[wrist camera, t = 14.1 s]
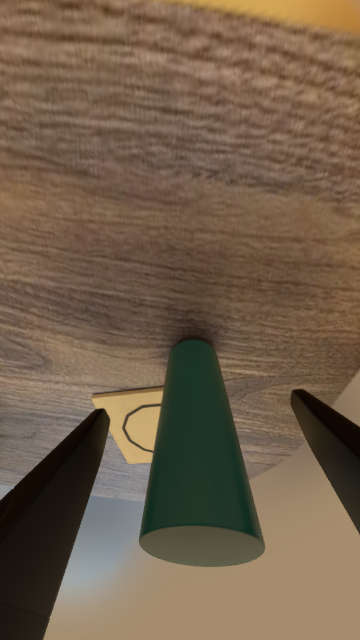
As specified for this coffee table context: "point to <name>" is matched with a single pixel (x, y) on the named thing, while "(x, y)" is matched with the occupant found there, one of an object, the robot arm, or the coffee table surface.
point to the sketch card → (133, 420)
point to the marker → (198, 470)
